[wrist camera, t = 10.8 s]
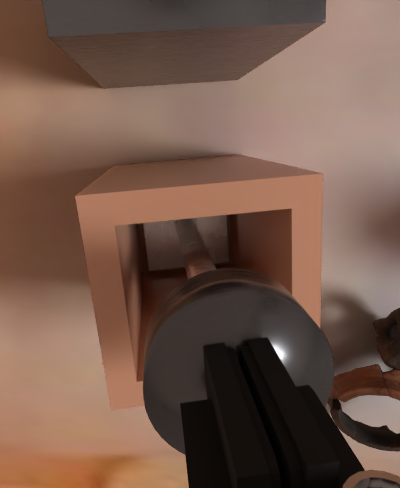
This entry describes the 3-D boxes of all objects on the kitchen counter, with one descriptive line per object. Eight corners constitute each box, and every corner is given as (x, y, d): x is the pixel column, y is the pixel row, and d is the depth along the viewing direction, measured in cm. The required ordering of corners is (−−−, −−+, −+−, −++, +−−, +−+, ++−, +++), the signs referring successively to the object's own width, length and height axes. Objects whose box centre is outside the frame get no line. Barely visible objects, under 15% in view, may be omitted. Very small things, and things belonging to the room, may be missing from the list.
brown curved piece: (423, 386, 36) (438, 473, 29) (318, 365, 39) (311, 439, 32) (459, 285, 30) (488, 366, 23) (331, 268, 33) (325, 337, 26)
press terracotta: (114, 165, 27) (74, 195, 13) (240, 154, 28) (322, 173, 14) (134, 311, 30) (118, 454, 17) (246, 298, 31) (318, 424, 17)
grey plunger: (139, 188, 26) (111, 295, 9) (223, 180, 27) (352, 267, 9) (148, 267, 28) (141, 491, 10) (227, 259, 28) (344, 458, 11)
